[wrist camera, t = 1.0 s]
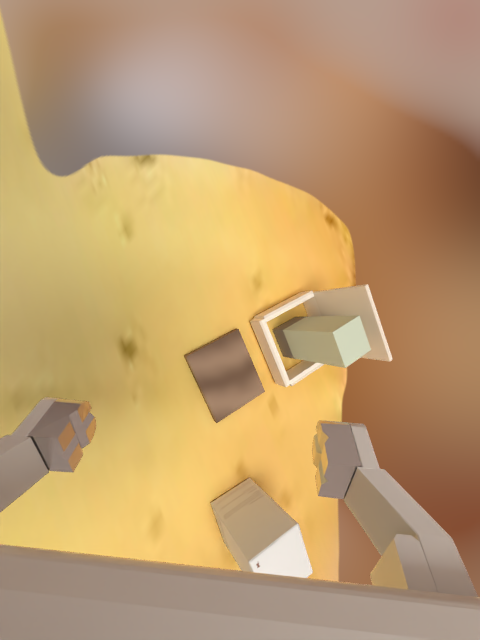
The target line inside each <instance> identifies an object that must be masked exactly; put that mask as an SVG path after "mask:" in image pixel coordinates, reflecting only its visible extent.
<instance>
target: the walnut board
mask: <svg viewBox="0 0 480 640" xmlns="http://www.w3.org/2000/svg"><path fill="white" fill-rule="evenodd" d="M184 357H185V359H186V361H187V363H188V365H189V368H190V370H191V372H192V374H193V376H194V378H195V380H196V383H197V385H198V387H199V389H200V391H201V393H202V395H203V398H204V400H205V402H206V404H207V406H208V408H209V410H210V413H211V415H212V417H213V419H214V421H215V422H216V423H218V422H219V421H221V420H222V419H224V418H225V417H227V416H228V415H230V414H231V413H233V412H234V411H236V410H238V409H239V408H241V407H242V406H244V405H245V404H247V403H248V402H250V401H251V400H253V399H254V398H256V397H257V396H259V395H260V394H262V393H264V392H265V391H264V388H263V386H262V383H261V381H260V379H259V376H258V374H257V372H256V369H255V367H254V365H253V362H252V360H251V357H250V355H249V353H248V350H247V348H246V346H245V343H244V341H243V339H242V336H241V334H240V332H239V329H235V330H233V331H231V332H229V333H227V334H225V335H223V336H221V337H219V338H217V339H215V340H214V341H212V342H210V343H208V344H206V345H204V346H202V347H200V348H198V349H196V350H194V351H193V352H191V353H189V354H187V355H185V356H184Z"/></svg>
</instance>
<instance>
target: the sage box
mask: <svg viewBox="0 0 480 640" xmlns="http://www.w3.org/2000/svg"><path fill="white" fill-rule="evenodd" d="M273 332H274V334H275V337H276V339H277V342H278V344H279V347H280V349H281V352H282V354H283V357H289V358H294V359H300V360H305V361H311V362H316V363H322V364H327V365H332V366H338V367H343V368H346V367H348V366H349V365H350V364H352V363H353V362H354V361H356V360H357V359H359V358H360V357H362V356H363V355H364V354H366V353H367V352H369V351H370V350H371V348H370V345H369V342H368V339H367V336H366V333H365V330H364V327H363V324H362V321H361V319H360V316H359V315H358V316H315V317H294V318H292V319H291V320H289V321H287V322H285V323H283V324H282V325H280V326H278V327H276V328H275V329H273Z"/></svg>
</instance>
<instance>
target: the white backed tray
mask: <svg viewBox="0 0 480 640" xmlns="http://www.w3.org/2000/svg"><path fill="white" fill-rule="evenodd" d="M301 303H303V304H304V307H305V310H306V312H307V315H308V317H315V316H358V315H359V316H360V319H361V321H362V324H363V327H364V330H365V333H366V336H367V339H368V342H369V345H370V348H371V350H370V351H369V352H367V353H366V354H364V355H363V356H362V357H361V358H368V359H376V360H383V361H391V360H392V356H391V353H390V350H389V347H388V344H387V341H386V338H385V335H384V332H383V329H382V326H381V323H380V320H379V317H378V313H377V310H376V308H375V304H374V302H373V299H372V296H371V292H370V289H369V286H368V285H367V284H366V285H359V286H352V287H344V288H337V289H330V290H323V291H315V292H312V291H306V292H300V293H298V294H296V295H294V296H293V297H291V298H289V299H287V300H285V301H283V302H281V303H279V304H277V305H275V306H273V307H271V308H269V309H268V310H266V311H264V312H262V313H260V314H258V315H256V316H254V319H252V320H250V323H251V325H252V328H253V330H254V333H255V335H256V337H257V340H258V342H259V345H260V347H261V350H262V352H263V354H264V357H265V359H266V362H267V364H268V366H269V369H270V371H271V374H272V376H273V379H274V381H275V383H276V384H278V385H281V386H284V387H287V386H289V385H290V386H293V385H294V384H296V383H297V382H299V381H300V380H302V379H303V378H305V377H306V376H308V375H309V374H311V373H312V372H314V371H315V370H317V369H318V368H320V367H321V366H322V365H324V364H322V363H316V362H311V361H305V360H303V361H301V362H300V363H298V364H297V365H295V366H294V367H292V368H290V369H289V370H287V371H285V368H284V366H283V363H282V361H281V358H280V356H279V353H278V351H277V348H276V346H275V343H274V341H273V338H272V336H271V333H270V331H269V328H268V326H267V323H266V322H267V321H269V320H271V319H273V318H275V317H277V316H279V315H280V314H282V313H284V312H286V311H288V310H290V309H292V308H293V307H295V306H297V305H299V304H301Z"/></svg>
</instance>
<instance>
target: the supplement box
mask: <svg viewBox="0 0 480 640" xmlns="http://www.w3.org/2000/svg"><path fill="white" fill-rule="evenodd" d="M211 506H212V509H213V512H214V515H215V517H216V520H217V523H218V526H219V529H220V532H221V535H222V538H223V540H224V543H225V544H226V546H227V548H228V549H229V551H230V552H231V554H232V556H233V557H234V559H235V561H236V562H237V564H238V565H239V567H240V569H241V570H242V571H247V572H256V573H265V574H274V575H283V576H292V577H301V578H307V577H308V576H309V575H310V574H312V573H313V571H312V568H311V564H310V561H309V558H308V555H307V552H306V548H305V545H304V541H303V538H302V534H301V531H300V527H299V524H298V523H297V522H296V521H295V520H294V519H292V518H291V517H290V516H289V515H288V514H287V513H286V512H285V511H284V510H283V509H282V508H281V507H280V506H279V505H278V504H277V503H276V502H275V501H274V500H273V499H272V498H271V497H270V496H269V495H268V494H267V493H265V492H264V491H263V490H262V489H261V488H260V487H259V486H258V485H257V484H256V483H255V482H254V481H253V480H252V479H251V478H248V479H247V480H245V481H244V482H242V483H240V484H239V485H237V486H236V487H234V488H233V489H231V490H230V491H228V492H227V493H225V494H224V495H222V496H220V497H219V498H217V499H216V500H214V501H213V502H211Z"/></svg>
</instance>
